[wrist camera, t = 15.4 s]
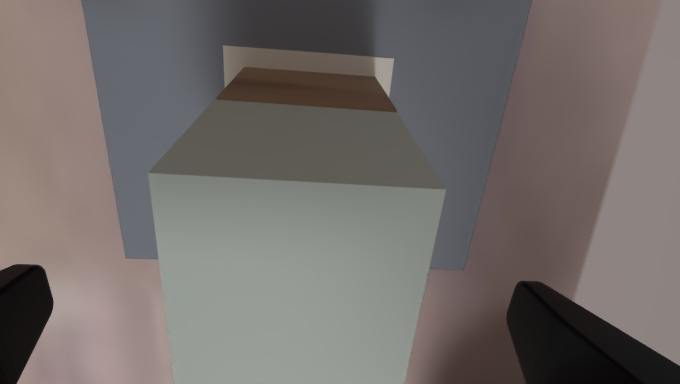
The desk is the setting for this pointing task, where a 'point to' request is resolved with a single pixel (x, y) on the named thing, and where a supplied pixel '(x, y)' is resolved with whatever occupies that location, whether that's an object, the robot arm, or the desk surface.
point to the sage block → (293, 244)
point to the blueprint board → (311, 56)
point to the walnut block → (307, 89)
